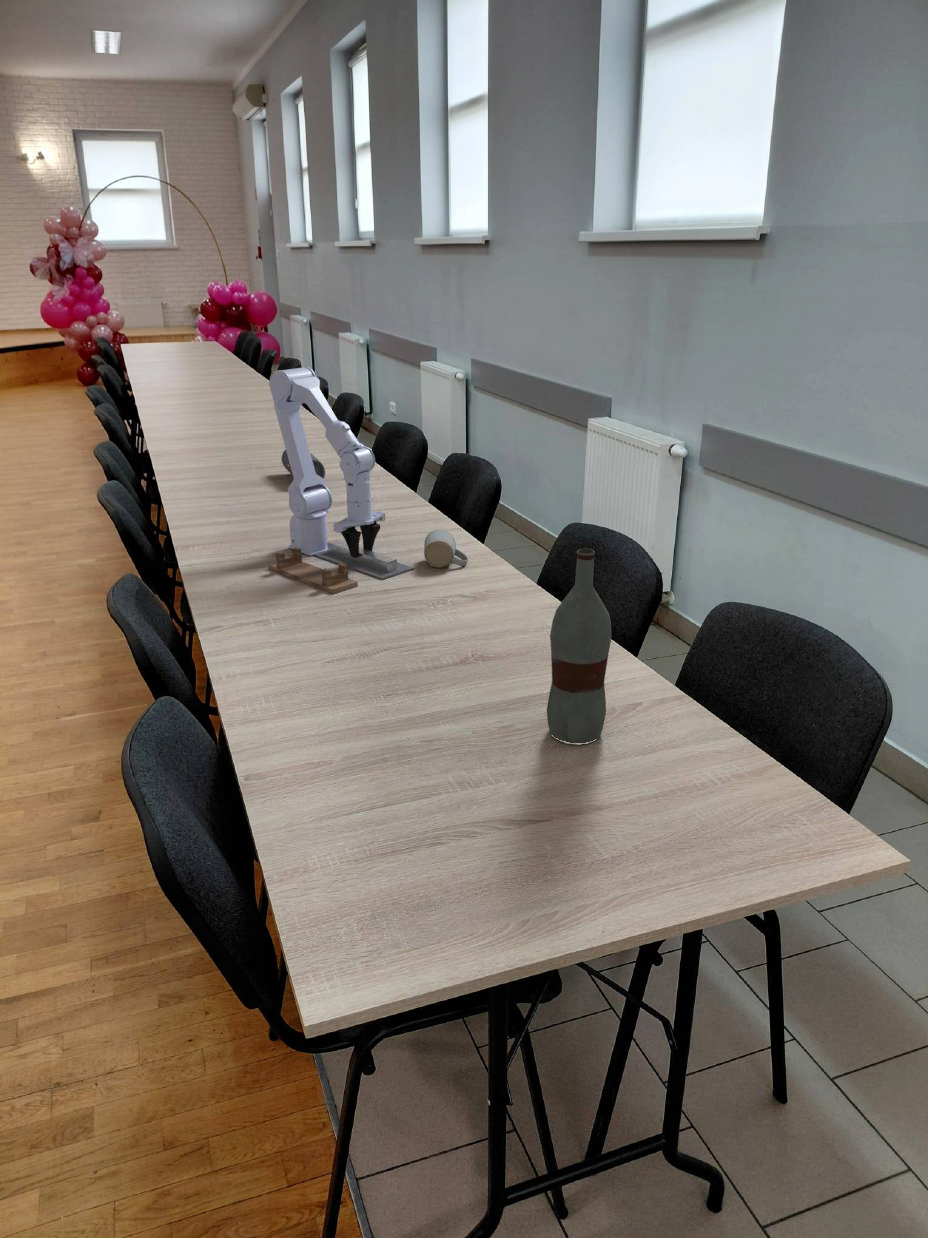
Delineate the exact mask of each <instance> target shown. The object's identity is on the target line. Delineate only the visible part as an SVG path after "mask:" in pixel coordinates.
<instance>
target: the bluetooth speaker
mask: <svg viewBox="0 0 928 1238" xmlns="http://www.w3.org/2000/svg"><path fill="white" fill-rule="evenodd" d="M310 454H311V458H312V462H313V465H314V469H315V473H316V474H317V475H318V476H320V477H321V478H323V479H324V478H325V477H326V470H325V466H324V465H323V463H322V462H321V461H320V460H319V459H318V458H317V457H316V456H315V455H313V454H312V453H311V452H310ZM281 463H282V466H283V467H284V468H285V470H286V471H287V472H288V473H290V475H292V476H293V473H292V470H291V466H290V462H289V459H288V455H287V452H286V448H285V449H284V451H283V452H282V455H281ZM324 480H325V479H324Z"/></svg>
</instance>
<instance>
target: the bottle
mask: <svg viewBox="0 0 928 1238" xmlns="http://www.w3.org/2000/svg"><path fill="white" fill-rule="evenodd" d="M595 554H596V552H595V550H594V549H592V548H588V547H587V548H586V547H585V548H580V549H578V550H576V566H575V579H574V580H575V581H574V586H573V587H572V588H571V589H570V591H569V592H568V593H567V595H566V596H565V597H564V598H563V599H562V601H561V602H560V604H559V605H558V607H557V608H556V610H555V613H554V616H553V618H552V621H551V629H550V634H549V640H550V641H549V642H550V650H551V651H550V655H551V684H550V689H549V694H548V701H547V706H546V717H547V719H546V720H547V726H548V729H549V733H550V735H551V734H552V735H553V736H554V737H555V738H558V739H559V740H562V741H566V742H570V743H586V742H590V741H593V740H595V739H597V738H598V737H599V736H600V737H601V734H602V732H603V729H604V724H605V720H606V719H605V718H606V715H607V702H606V701H607V699H606V689H605V679H606V672H607V666H608V660H609V652H610V648H611V643H612V635H613V634H612V621H611V617H610V613H609V611H608V610H607V608H606V606H605V604H604V602H603V601H602V599H601V598H600V596H599V594H598V592H597V591H596V589H595V587H594V566H595V563H594V562H595ZM600 737H599V738H600ZM599 738H598V739H599ZM598 739H597V740H598Z"/></svg>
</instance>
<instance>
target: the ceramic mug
mask: <svg viewBox="0 0 928 1238" xmlns="http://www.w3.org/2000/svg"><path fill="white" fill-rule="evenodd" d="M456 545H457V542H456V540H455V537H454V535H453V534H452V533H451V532H449V531H447V530H445V529H442V528H441V529H440V528H439V529H433V530H431V531H430V532H429V533H428V534H426V536H425V538H424V544H423V546H424V547H423V548H424V549H423V555H424V559H425V560H426V563H427V564H429V565H430V566H431V567H433V568H436V569H443V568H447V566H450V564H454V565H456V566H461V567H465V566H466V565H467V564H468V562H469V557H468V556H467V554H465V553H464V552H463V551H461V550H459V549H458V548H456V547H457V546H456Z"/></svg>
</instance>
